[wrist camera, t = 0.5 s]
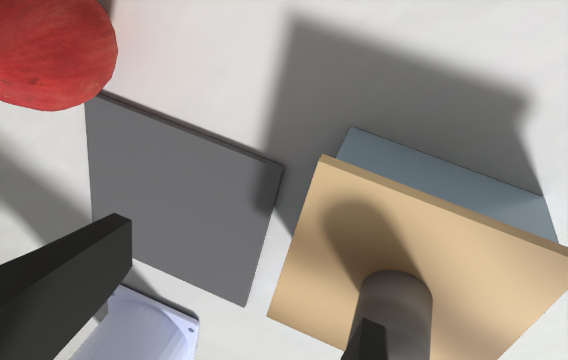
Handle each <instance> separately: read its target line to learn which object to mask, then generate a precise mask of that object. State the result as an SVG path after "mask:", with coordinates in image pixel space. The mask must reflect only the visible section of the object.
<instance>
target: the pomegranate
mask: <svg viewBox="0 0 568 360" xmlns="http://www.w3.org/2000/svg"><path fill="white" fill-rule="evenodd" d="M117 54H118V48H117V42H116V36H115V31H114V28H113V26H112V24H111V22H110V19H109V17H108V15H107V13H106V11H105V10H104V9H103V8H102V6H101V5H100V4H99V3H98V2H97V1H96V0H0V100H1V101H3V102H6V103H9V104H13V105H17V106H22V107H26V108H31V109H35V110H40V111H51V112H53V111H59V110H65V109H68V108H71V107H74V106H77V105H80V104H82V103H84V102H86V101H88V100H91V99H93V98H94V97H95V96H96V95H97V94H98V93H99V92H100V91H101V90H102V88H103V87H104V86H105V85H106V84H107V82H108V81H109V80H110V79H111V77H112V74H113V72H114V69H115V64H116V59H117Z"/></svg>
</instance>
